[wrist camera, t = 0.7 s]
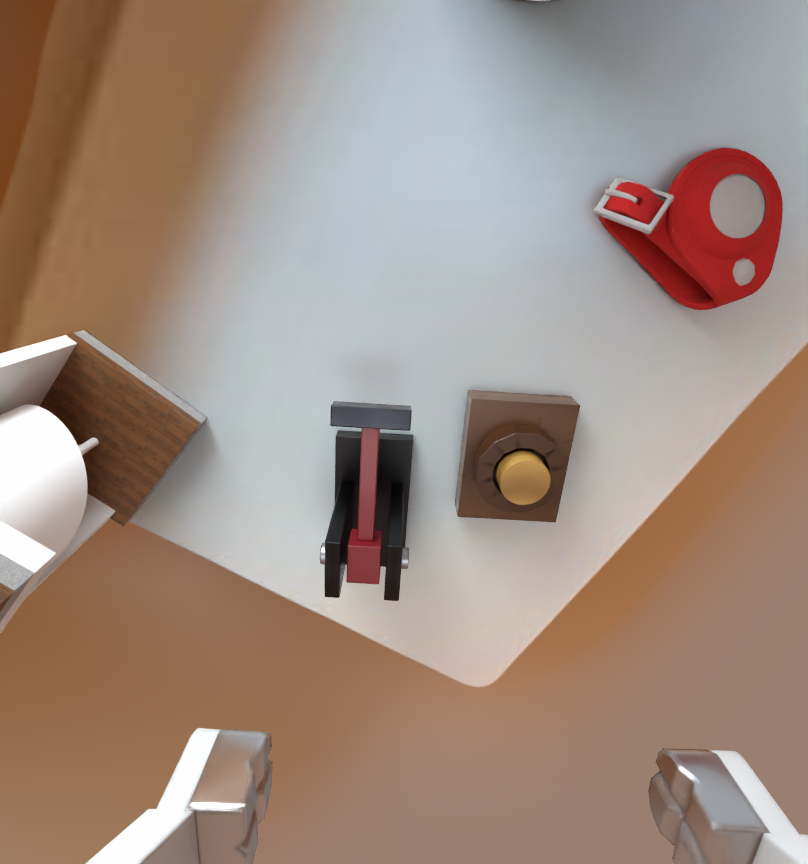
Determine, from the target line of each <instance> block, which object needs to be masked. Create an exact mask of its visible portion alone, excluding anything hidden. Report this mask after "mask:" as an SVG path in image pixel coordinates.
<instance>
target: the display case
mask: <svg viewBox="0 0 808 864" xmlns="http://www.w3.org/2000/svg"><path fill="white" fill-rule="evenodd" d="M206 419H207V417H205V416H204V415H202V414H201V413H200V412H198V411H197V410H195V409H194V408H193V407H191V406H190V405H188V404H187V403H186V402H184V401H183V400H181V399H180V398H179V397H177V396H176V395H174V394H173V393H172V392H170V391H169V390H167V389H166V388H164V387H163V386H162V385H160V384H159V383H157V382H156V381H155V380H153V379H152V378H150V377H149V376H148V375H146V374H145V373H143V372H142V371H141V370H139V369H138V368H136V367H135V366H134V365H132V364H131V363H129V362H128V361H127V360H125V359H124V358H122V357H121V356H120V355H118V354H117V353H115V352H114V351H112V350H111V349H110V348H108V347H107V346H105V345H104V344H103V343H101V342H100V341H98V340H97V339H96V338H94V337H93V336H91V335H90V334H89V333H87V332H86V331H84V330H82V331H78V332H75V333H71V334H68V335H64V336H61V337H57V338H54V339H50V340H46V341H43V342H39V343H36V344H32V345H29V346H25V347H22V348H18V349H15V350H11V351H8V352H4V353H0V633H1V632H2V631H3V629H4V628H5V626H6V625H7V623H8V622H9V620H10V619H11V618H12V616H13V615H14V613H15V612H16V611H17V609H18V608H19V606H20V605H21V603H22V602H23V600H24V599H25V598H26V597H27V596H28V595H30V594H31V593H32V592H33V591H34V590H35V589H36V588H37V587H38V586H39V585H40V584H41V583H42V582H43V581H44V580H45V579H46V578H48V577H49V576H50V575H51V574H52V573H53V572H54V571H55V570H56V569H57V568H58V567H59V566H60V565H61V564H62V563H63V562H65V560H66V559H68V558H69V557H70V556H71V555H72V554H73V553H74V552H75V551H76V550H77V549H78V548H79V547H80V546H81V545H82V544H83V543H85V542H86V541H87V540H88V539H89V538H90V537H91V536H92V535H93V534H94V533H95V532H96V531H97V530H98V529H99V528H101V527H102V526H103V525H104V523H106V522H107V521H108V520H109V519H110V518H111V519H113V520H114V521H116V522H118V523H119V524H121V525H123V526H124V525H125V524H126V523H127V522H128V521H129V520H130V519H131V518H132V517H133V516H134V515H135V514H136V513H137V511H138V510H139V509H140V507H141V506H142V505H143V503H144V502H145V501H146V499H147V498H148V497H149V495H150V494H151V492H152V491H153V490H154V488H155V487H156V486H157V484H158V483H159V482H160V480H161V479H162V478H163V476H164V475H165V474H166V472H167V471H168V470H169V468H170V467H171V466H172V464H173V463H174V462H175V460H176V459H177V458H178V456H179V455H180V454H181V452H182V451H183V450H184V448H185V447H186V446H187V444H188V443H189V442H190V440H191V439H192V437H193V436H194V435H195V433H196V432H197V431H198V429H199V428H200V427H201V425H202V424H203V423H204V421H205V420H206Z"/></svg>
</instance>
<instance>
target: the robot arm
mask: <svg viewBox="0 0 808 864" xmlns="http://www.w3.org/2000/svg"><path fill="white" fill-rule="evenodd" d="M527 1H552V0H527ZM271 747H272V741H271V733H265V732H251V731H238V730H224V729H222V730H221V729H205V728H197V729H196V731H195V732H194V733H193V734H192V735H191V737H190V739H189V741H188V744H187V746H186V748H185V750H184V752H183V754H182V756H181V758H180V760H179V763H178V765H177V767H176V769H175V771H174V773H173V775H172V777H171V779H170V781H169V784H168V786H167V788H166V790H165V792H164V794H163V796H162V798H161V800H160V802H159V805H158V807H157V809H148V810H147V811H146V812H145V813H144V814H142V815H141V816H140V817H139V818H138V819H137V820H135V821H134V822H133V823H132V824H131V825H130V826H128V827H127V828H126V829H125V830H124V831H123V832H122V833H120V834H119V835H118V836H117V837H116V838H115V839H114V840H112V841H111V842H110V843H109V844H108V845H106V847H104V848H103V849H102V850H101V851H100V852H98V853H97V854H96V855H95V856H94V857H93V858H91V859H90V860H89V861H88V862H87V863H86V864H253V860H254V856H255V852H256V849H257V845H258V824H259V823H260V822H261V821H262V820H263V819H264V818H265V814H266V810H267V806H268V802H269V796H270V790H271V785H272V762H271V761H270V759H269V754H270V750H271ZM656 763H657V765H658V767H659V769H660V771H659V772H658V773H657V774H655V775H654V776H653V777H652V778H651V781H650V786H649V801H650V807H651V811H652V814H653V818H654V820H655V822H656V825H657V827H658V829H659V831H660V833H661V834H662V835H663V836H664V837H665V838H666V839H667V840H668V841H669V842H670V843H671V844H672V845H673V846H674V850H673V857H672V859H673V861H674V863H675V864H808V835H802V834H798V832H797V831H796V830H795V828H794V827H793V826H792V825H791V823H790V821H789V820H788V818H787V817H786V816H785V815H784V813H783V812H782V810H781V809H780V808H779V806H778V805H777V804H776V802H775V801H774V799H773V798H772V797H771V795H770V794H769V792H768V791H767V790H766V788H765V787H764V786H763V784H762V783H761V781H760V780H759V779H758V777H757V776H756V775H755V773H754V772H753V771H752V769H751V768H750V766H749V765H748V764H747V762H746V761H745V759H744V758H743V757H742V756H741V755H740V754H738V753H737V752H736V751H716V750H710V751H709V750H701V749H699V750H698V749H664V748H663V749H662V750H661V751H659V752H658V755H657V759H656Z"/></svg>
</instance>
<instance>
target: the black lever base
mask: <svg viewBox="0 0 808 864" xmlns="http://www.w3.org/2000/svg"><path fill="white" fill-rule="evenodd" d="M361 436H362V432H353V431H338V432H337V435H336V465H335V507H334V510H333V514H332V518H331V522H330V525H329V529H328V533H327V537H326V540H325V543H323V544H322V546H321V551H320V563H321V564H325V597H336V598H339V597H340V592H341V586H342V581H343V576H344V570H345V565H346V564H347V555H348V543H349V538H350V534H351V529H358V508H359V484H360V460H361ZM412 447H413V435H403V434H386V433H379V452H378V471H377V490H376V510H375V529H374V530H380V531H382V549H381V566H385V567H386V575H385V592H384V600H392V601H398V600H399V591H400V577H401V568H402V569H407V568H408V561H409V548H405V538H406V525H407V512H408V499H409V486H410V473H411V460H412Z"/></svg>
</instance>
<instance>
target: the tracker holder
mask: <svg viewBox="0 0 808 864" xmlns="http://www.w3.org/2000/svg"><path fill="white" fill-rule="evenodd" d="M782 210H783V209H782V196H781V192H780V189H779V187H778V184H777V181H776V180H775V178H774V176H773V175H772V173H771V172H770V170H769V169H768V168H767V167H766V166H765V165H764V164H763V163H762V162H761V161H760V160H759V159H757V158H756V157H755V156H753V155H751V154H749V153H747V152H745V151H741V150H738V149H732V148H720V149H714V150H711V151H708V152H705V153H703V154H702V155H700V156H698V157H697V158H695V159H694V160H692V161H691V162H689V163H688V164H687V165H686V166H685V167H684V168H683V169H682V170H681V171H680V173H679V174H678V175H677V176H676V178H675V179H674V180H673V182H672V184H671V186H670V188H669V190H668V192H667V193H665V192H662V191H659V190H656V189H653V188H650V187H647V186H644V185H641V184H639V183H636V182H633V181H630V180H627V179H624V178H621V177H616V178H615V179H614V181H613V182H612V184H611V185H610V187H609V188H608V189H606V190H605V194H604V195H603V197H602V198H601V200H600V201H599V203H598V204H597V206H596V207H595V209H594V214H596V215H599V219H600V221H601V223H602V225H603V226H604V228H605V229H606V230H607V231H608V232H609V233H610V234H611V235H612V236H613V237H614V238H615V239H616V240H617V241H618V242H619V243H620V244H621V245H623V246H624V247H625V248H626V249H627V250H628V251H629V252H630V253H631V254H632V255H633V256H634V257H635V258H636V260H637V261H638V262H639V263H640V264H641V265H642V266H643V267H644V268H645V269H646V270H647V271H648V272H649V273H650V274H651V275H652V276H653V277H654V278H655V280H656V281H657V282H658V283H659V284H660V285H661V286H662V287H663V288H664V289H665V290H666V291H667V292H668V293H669V294H670V295H671V296H672V297H673V298H674V299H675V300H676V301H677V302H679V303H680V304H682V305H684V306H686V307H689V308H692V309H697V310H707V309H713V308H716V307H719V306H722V305H725V304H728V303H731V302H734V301H737V300H740V299H742V298H745V297H747V296H749V295H751V294H753V293H754V292H756V291H757V290H758V289H759V288H760V287H761V286H762V285H763V284H764V282H765V281H766V280H767V278H768V277H769V274H770V272H771V270H772V267H773V263H774V259H775V255H776V251H777V247H778V243H779V237H780V230H781V222H782Z"/></svg>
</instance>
